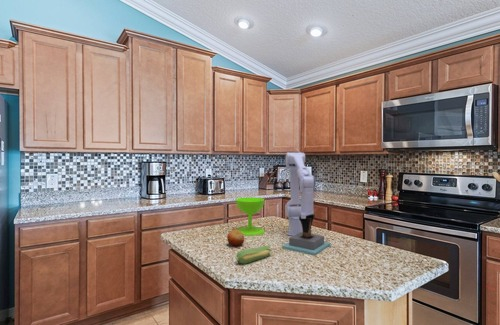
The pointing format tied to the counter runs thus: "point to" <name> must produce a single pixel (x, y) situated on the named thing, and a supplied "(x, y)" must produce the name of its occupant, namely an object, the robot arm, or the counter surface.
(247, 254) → the edible corn
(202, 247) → the counter surface
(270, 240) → the counter surface
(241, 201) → the wineglass
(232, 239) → the fruit
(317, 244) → the socket board
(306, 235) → the peg
